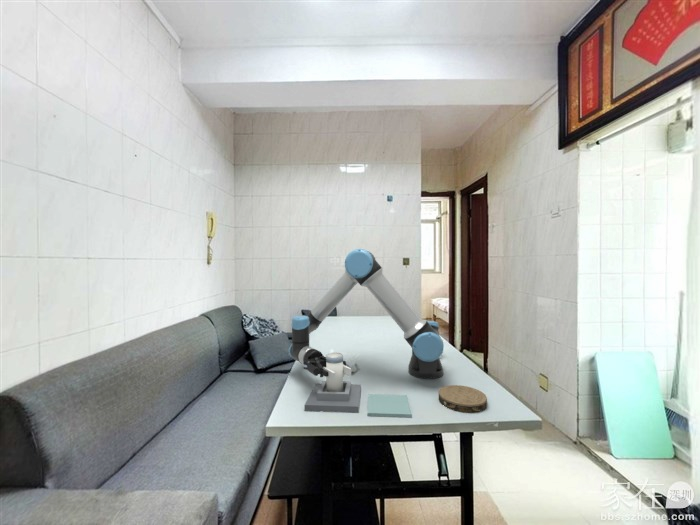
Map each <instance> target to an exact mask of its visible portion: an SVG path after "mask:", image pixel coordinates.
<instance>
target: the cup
mask: <svg viewBox="0 0 700 525" xmlns="http://www.w3.org/2000/svg"><path fill="white" fill-rule="evenodd" d="M325 357H326V368H328V369H330V370H332V371H333V372H335V381H333V380H331V379H329V378H328V377H325V378H326V380H325V381H326V388H327V392H343V381H344V373H343V361H344V354H343V353H341V352H329V353H326V354H325Z"/></svg>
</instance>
